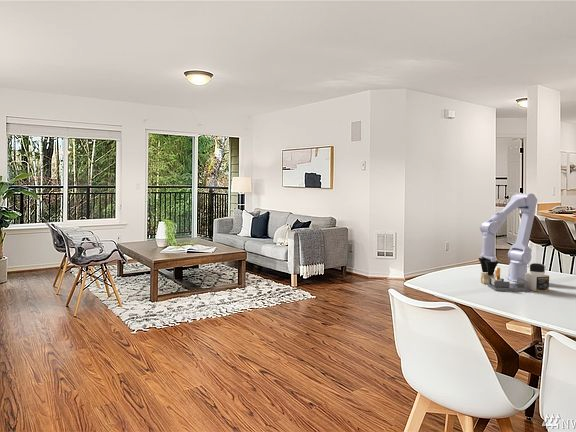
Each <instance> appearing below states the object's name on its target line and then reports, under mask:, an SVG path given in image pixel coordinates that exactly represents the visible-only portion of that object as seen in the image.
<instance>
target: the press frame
mask: <svg viewBox="0 0 576 432" xmlns="http://www.w3.org/2000/svg"><path fill="white" fill-rule="evenodd" d="M501 279H502V281H494V285H492V284H491V278H489V283H488V284H487V287H488V288H490V289H492V290H494V291H495V292H522V293H523V292H525V293H526V292H529V291H530V290H529V288H528V281H526V280H524V279H522V278H517V282H516V283H514V282H513V283H512V282H510V281H505V279H504V278H501Z"/></svg>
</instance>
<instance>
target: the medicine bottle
mask: <svg viewBox="0 0 576 432" xmlns="http://www.w3.org/2000/svg"><path fill="white" fill-rule="evenodd" d="M545 272H546V265H545V264H542V263H534V262H533V263H530V264H529V272H527V273H526V274H525V280H526V281H528V288H529V291H533V292H535V293H536V292H547V291H549V289H550V275H548V274H546V273H545Z"/></svg>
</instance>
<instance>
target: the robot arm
mask: <svg viewBox="0 0 576 432" xmlns="http://www.w3.org/2000/svg"><path fill="white" fill-rule="evenodd" d="M537 203H538V198H537V197H536V195H535V194H534V193H519V192H516V193H514V194H513V195H512V196H511V197H510V200H509V202H507V204H506V205H505V206H504V207H503V209H502V210H501V211H494V214H493V215H492V216H491V217H490V218H489V219H487V221H483V223H481V225H480V227H479V230H480V233H481V237H482V240H481V241H482V243H481V245H482V248H481V252H480V254H479V255H478V256H479V257H478V260H479V263H480V266H481V271H482V272H481V273H488V275H489V276H493V274H495V269H496V268H497V266H498V265H499V261H497V257H496V255H495V254H496V234H497V233H498V232H499V231H500V227H501V226H502V225H503V224H504V223H505V222H506V221H507V219H508V216H509V215H510V214H511V213H512V212H513V211H515V210H516V209H518V210H520V211H521V219H520V223H519V227H518V231H517V235H516V236H517V237H516V240H515V243H514V244H512V245H511V246H510V249H509V250H508V252H507V258H508V261H509V262H510V263H509V264H508V270H507V272H508V273H507V276H506V279H508V280H510V281H511V282H513V283H514V282H516V283H517V278H522V279H524V280H525V274H526V273H528V265H529V263H530V262H531V260H532V249H531V248H530V246H529V243H530V242H529V241H530V236H531V232H532V228H533V223H534V218H535V215H536V209H537V207H536V206H537Z"/></svg>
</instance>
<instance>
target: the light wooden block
mask: <svg viewBox="0 0 576 432" xmlns="http://www.w3.org/2000/svg"><path fill="white" fill-rule="evenodd" d="M491 277H495V273H494V274H493V276H489V275H488V272H480V283H481V284H483V285H488V283H489V278H491Z"/></svg>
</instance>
